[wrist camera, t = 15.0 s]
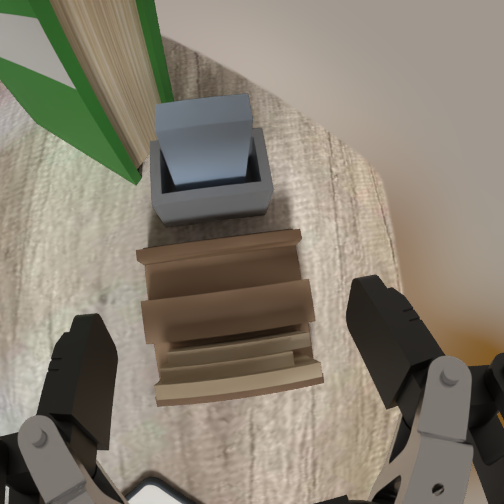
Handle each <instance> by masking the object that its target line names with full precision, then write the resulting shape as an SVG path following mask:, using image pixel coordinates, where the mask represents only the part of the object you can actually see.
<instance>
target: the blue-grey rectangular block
mask: <svg viewBox="0 0 504 504" xmlns="http://www.w3.org/2000/svg"><path fill="white" fill-rule="evenodd" d="M252 124H253V117H252V112H251V106H250V101H249V96H248V94H237V95H225V96H215V97H206V98H197V99H189V100H182V101H175V102H168V103H162V104H156V105H155V133H156V136H157V138H158V141H159V144H160V147H161V149H162V152H163V155H164V157H165V160H166V163H167V165H168V168H169V171H170V173H171V176H172V179H173V181H174V184H175V187H176V189H177V192H179V191H186V190H193V189H201V188H209V187H217V186H225V185H233V184H242V183H245V176H246V169H247V161H248V154H249V146H250V139H251V131H252Z"/></svg>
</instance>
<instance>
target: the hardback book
mask: <svg viewBox="0 0 504 504" xmlns="http://www.w3.org/2000/svg"><path fill="white" fill-rule="evenodd" d="M0 80H1V81H2V82H3V84H4V85H5V86H6V87H7V89H8V90H9V91H10V92H11V94H12V95H13V96H14V97H15V98H16V100H17V101H18V102H19V103H20V105H21V106H22V107H23V108H24V109H25V110H26V112H27V113H28V114H29V115H30V116H31V118H32V119H33V120H34V121H35V122H36V123H37V124H38V125H40V126H42V127H43V128H45V129H46V130H48V131H50V132H51V133H53V134H54V135H56V136H58V137H59V138H61V139H62V140H64V141H66V142H67V143H69V144H70V145H72V146H74V147H75V148H77V149H78V150H80V151H82V152H83V153H85V154H86V155H88V156H90V157H91V158H93V159H94V160H96V161H98V162H99V163H101V164H102V165H104V166H106V167H107V168H109V169H110V170H112V171H114V172H115V173H117V174H118V175H120V176H122V177H123V178H125V179H126V180H128V181H130V182H131V183H133V184H135V185H137V184H138V182H139V181H140V180H141V176H140V174H139V172H138V171H137V169H138V167H139V166H140V165H141V164H142V162H143V161H144V160H145V158H146V157H147V156H148V155H149V153H150V141H155V140H158V138H157V136H156V133H155V105H156V104H162V103H168V102H174V98H173V93H172V89H171V84H170V79H169V74H168V70H167V65H166V60H165V55H164V50H163V45H162V40H161V34H160V29H159V24H158V18H157V13H156V8H155V2H154V0H0Z"/></svg>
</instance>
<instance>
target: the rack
mask: <svg viewBox="0 0 504 504" xmlns="http://www.w3.org/2000/svg"><path fill="white" fill-rule="evenodd" d="M301 239H302V236H301V231H300V229H295V230H293V229H286V230H278V231H269V232H261V233H253V234H245V235H237V236H230V237H222V238H214V239H207V240H199V241H192V242H184V243H177V244H169V245H162V246H155V247H148V248H143V249H141V250H136V256H137V261H139V262H140V263H142V264H143V265H145V274H146V284H147V294H148V301H141V308H142V316H143V324H144V331H145V338H146V344H154V347H155V354H156V360H157V366H158V372H159V378H160V380H161V379H162V378H161V373H160V368H162V367H163V366H164V365H166V364H167V363H168V357H167V352H169V351H170V350H172V349H174V348H175V347H179V346H188V345H197V344H205V343H213V342H221V341H229V340H236V339H243V338H250V337H256V336H263V335H269V334H275V333H281V332H287V331H293V330H299V331H305V332H309V325H308V322H313V321H316V320H315V314H314V307H313V301H312V295H311V288H310V282H309V279H305V280H301V275H300V269H299V263H298V257H297V251H296V244H297V243H298V242H299V241H300V240H301ZM309 335H310V332H309ZM310 342H311V339H310ZM291 351H293V354H297V353H302V354H304V355H306V356H308V357H310V358H313V353H312V346H309V347H304V348H299V349H293V350H291ZM321 383H324V377H323V373H322V377H318V378H313V379H309V380H304V381H299V382H294V383H289V384H283V385H278V386H272V387H266V388H260V389H254V390H247V391H241V392H233V393H226V394H218V395H209V396H200V397H190V398H178V399H165V400H157V398H156V402H157V407H159V406H174V405H187V404H197V403H207V402H216V401H224V400H232V399H239V398H246V397H253V396H259V395H265V394H271V393H277V392H282V391H288V390H293V389H298V388H303V387H308V386H312V385H317V384H321Z"/></svg>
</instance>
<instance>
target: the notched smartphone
mask: <svg viewBox="0 0 504 504" xmlns="http://www.w3.org/2000/svg"><path fill="white" fill-rule="evenodd" d="M124 498H125V499H126V500H127V501H128V503H129V504H196V503H195V502H193V501H191V500H190V499H188V498H187V497H185V496H184V495H182V494H181V493H179V492H178V491H177V490H175V489H174V488H172V487H171V486H169V485H168V484H167V483H165V482H164V481H162V480H161V479H159V478H156V477H148V478H146V479H144V480H143V481H142V482H141V483H140V484H139V485H138V486H137V487H135V488H134V489H133V490H132V491H131V492H130V493H129V494H128V495H126V496H125V497H124Z"/></svg>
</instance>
